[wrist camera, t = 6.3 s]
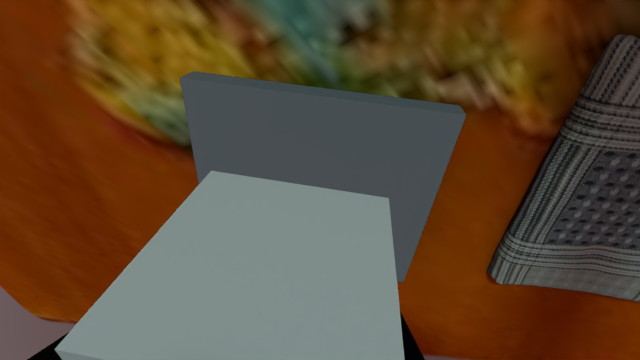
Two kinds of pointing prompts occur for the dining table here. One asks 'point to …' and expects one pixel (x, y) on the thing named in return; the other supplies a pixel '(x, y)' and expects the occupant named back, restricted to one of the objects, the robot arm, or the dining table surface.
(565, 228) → the dish towel
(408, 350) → the robot arm
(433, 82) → the dining table surface
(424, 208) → the slate board
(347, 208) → the white cube
